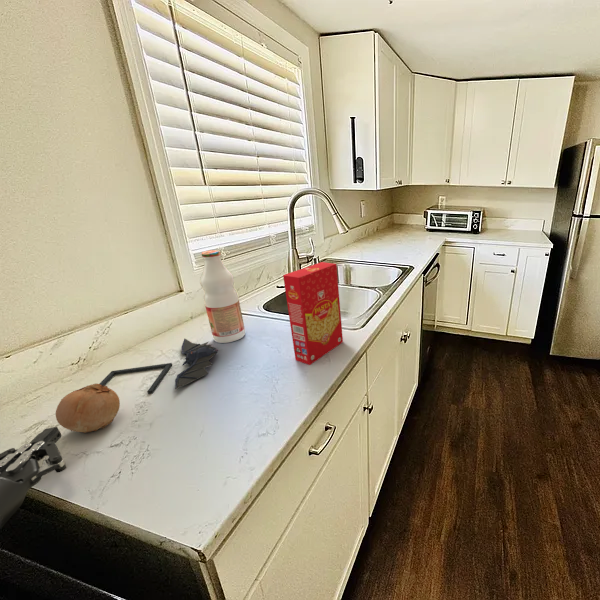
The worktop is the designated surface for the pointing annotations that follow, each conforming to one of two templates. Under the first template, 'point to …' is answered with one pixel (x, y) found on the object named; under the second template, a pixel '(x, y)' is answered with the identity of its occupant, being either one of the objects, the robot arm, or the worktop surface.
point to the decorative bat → (195, 362)
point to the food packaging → (314, 311)
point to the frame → (156, 382)
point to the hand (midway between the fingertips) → (53, 431)
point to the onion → (88, 408)
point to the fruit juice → (221, 299)
